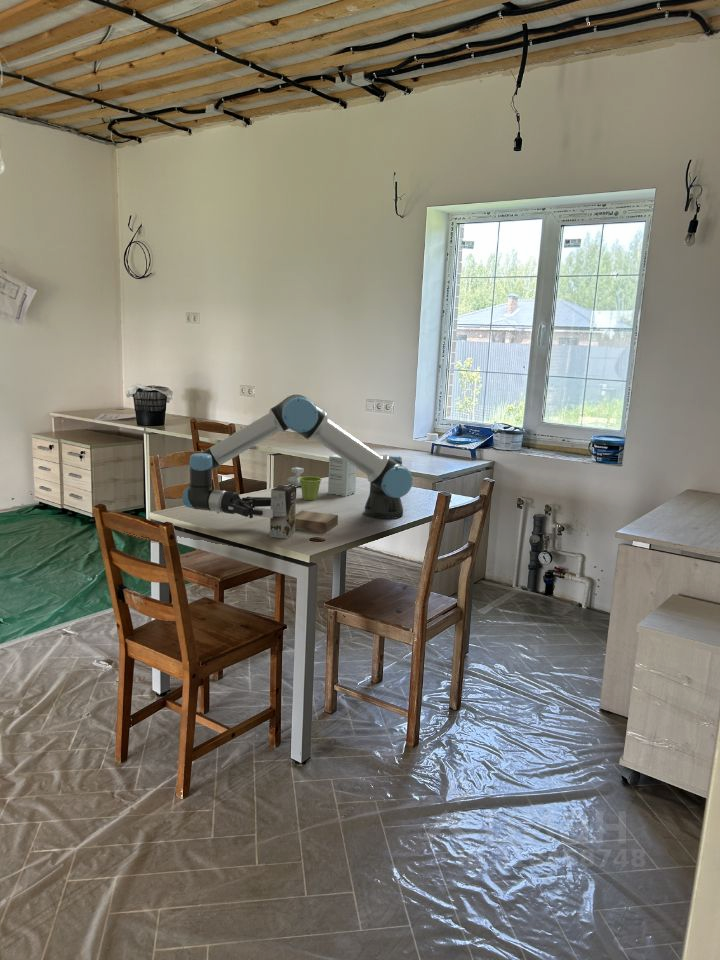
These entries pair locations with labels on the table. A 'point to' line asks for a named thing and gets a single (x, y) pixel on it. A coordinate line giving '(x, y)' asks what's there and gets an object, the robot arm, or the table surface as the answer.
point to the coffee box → (283, 511)
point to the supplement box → (341, 476)
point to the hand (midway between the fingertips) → (281, 509)
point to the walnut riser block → (315, 521)
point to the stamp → (295, 480)
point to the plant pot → (310, 487)
